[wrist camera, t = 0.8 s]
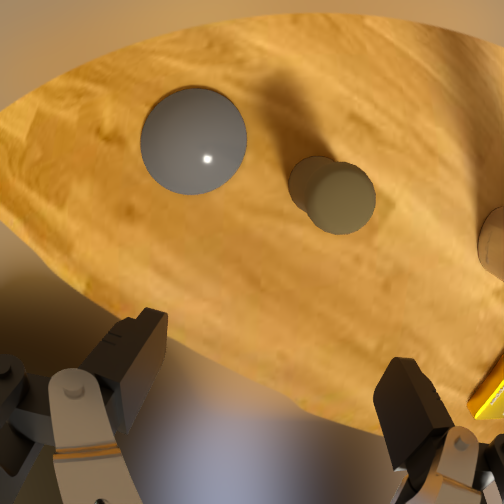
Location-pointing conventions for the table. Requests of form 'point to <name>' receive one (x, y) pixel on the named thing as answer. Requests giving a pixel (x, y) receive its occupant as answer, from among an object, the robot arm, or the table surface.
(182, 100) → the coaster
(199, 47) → the table surface
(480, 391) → the element tile
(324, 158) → the olive game pawn
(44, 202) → the table surface
